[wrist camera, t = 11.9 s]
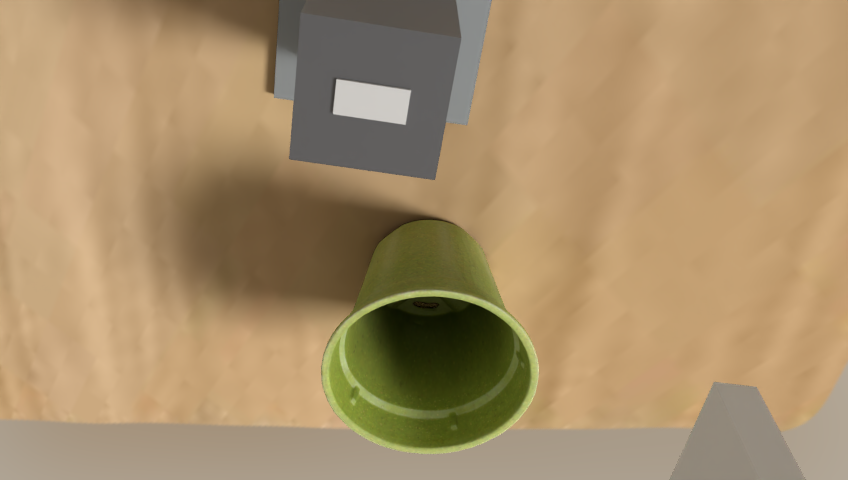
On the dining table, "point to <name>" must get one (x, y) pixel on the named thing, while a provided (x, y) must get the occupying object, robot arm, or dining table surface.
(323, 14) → the block
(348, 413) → the plant pot
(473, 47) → the pad
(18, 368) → the dining table surface
